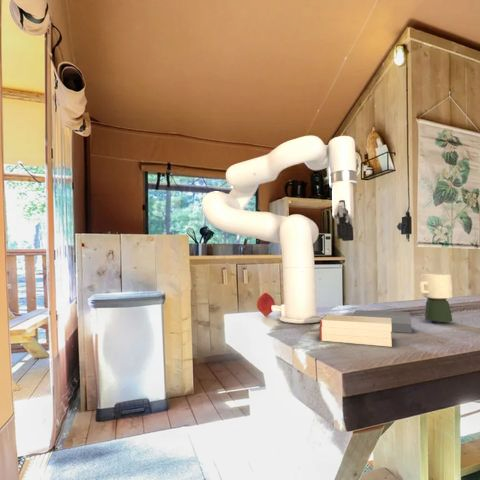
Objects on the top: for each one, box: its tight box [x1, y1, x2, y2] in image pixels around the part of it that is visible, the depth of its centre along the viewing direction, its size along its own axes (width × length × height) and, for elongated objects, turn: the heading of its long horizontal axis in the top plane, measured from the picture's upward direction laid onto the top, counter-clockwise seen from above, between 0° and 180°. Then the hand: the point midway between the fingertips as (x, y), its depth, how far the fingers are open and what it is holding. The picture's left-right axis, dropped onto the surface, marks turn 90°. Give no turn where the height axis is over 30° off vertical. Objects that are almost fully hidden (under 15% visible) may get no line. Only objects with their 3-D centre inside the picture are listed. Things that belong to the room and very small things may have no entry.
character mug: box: [419, 273, 453, 324], centre depth 83 cm, size 11×7×13 cm, turn 107°
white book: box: [319, 314, 393, 333], centre depth 67 cm, size 14×7×2 cm, turn 64°
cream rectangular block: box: [318, 325, 393, 348], centre depth 67 cm, size 14×7×3 cm, turn 64°
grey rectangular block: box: [353, 309, 413, 334], centre depth 77 cm, size 13×6×4 cm, turn 65°
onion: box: [256, 290, 276, 317], centre depth 99 cm, size 6×6×8 cm
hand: (345, 239), depth 87 cm, fingers open, 9 cm apart
